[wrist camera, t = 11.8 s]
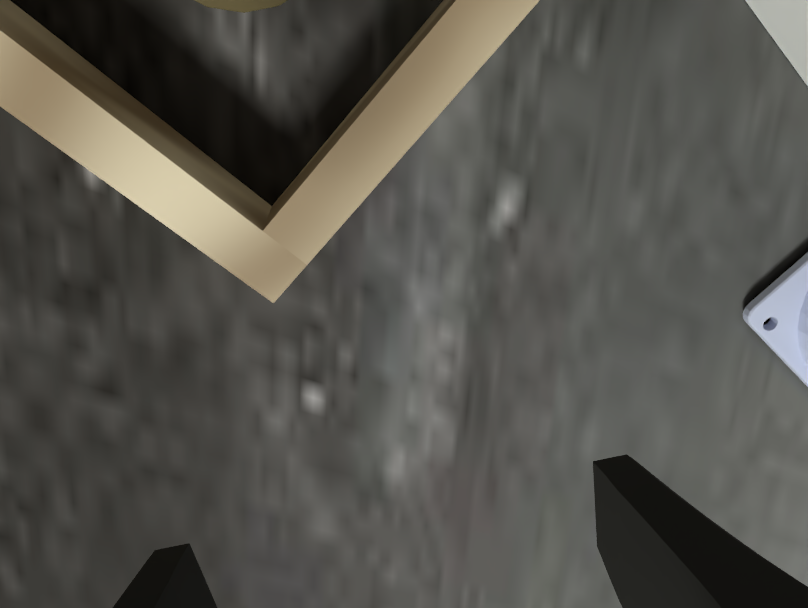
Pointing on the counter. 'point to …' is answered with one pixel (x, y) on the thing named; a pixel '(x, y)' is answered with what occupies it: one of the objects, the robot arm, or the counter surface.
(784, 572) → the robot arm
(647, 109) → the counter surface
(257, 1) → the cork
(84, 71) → the wooden square frame
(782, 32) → the white picture frame
